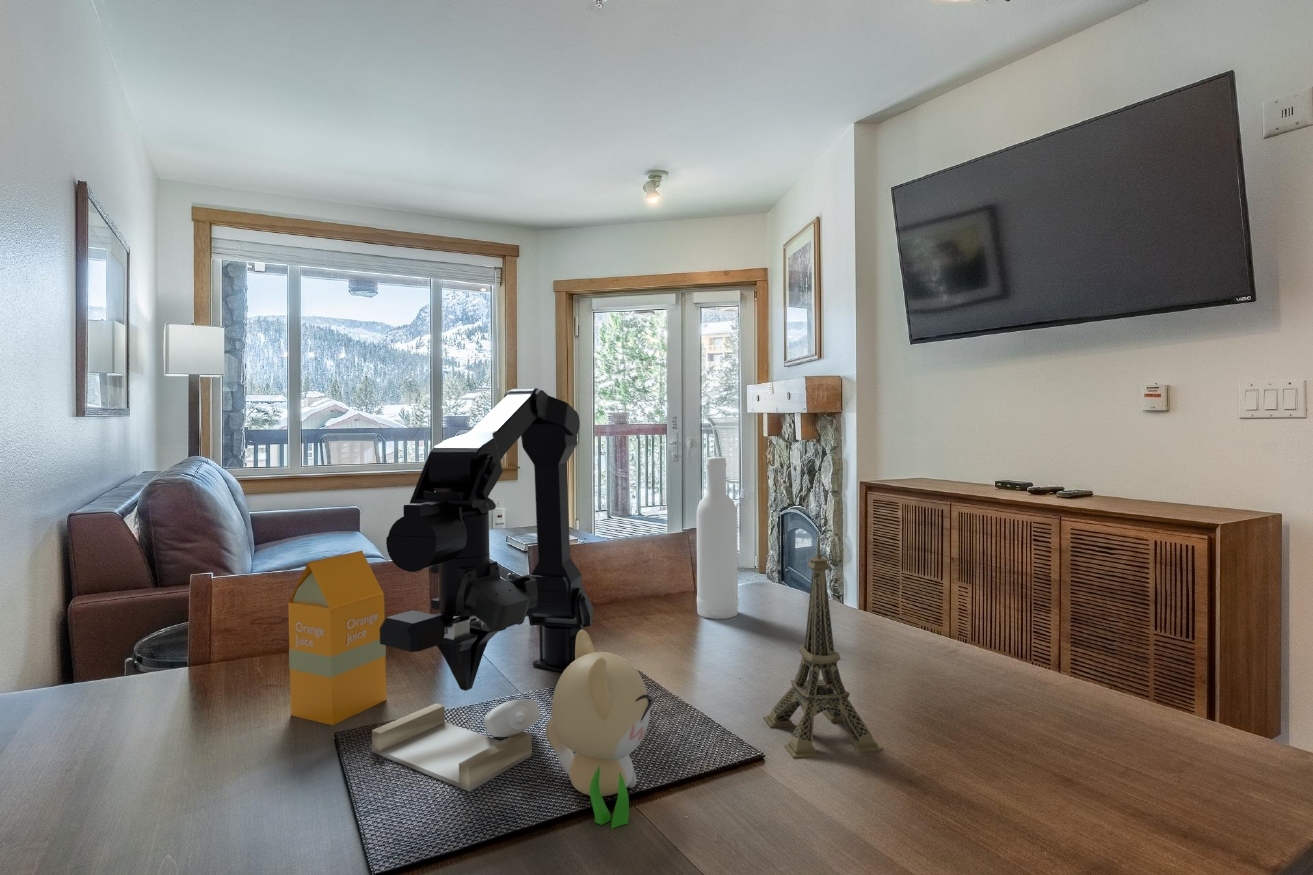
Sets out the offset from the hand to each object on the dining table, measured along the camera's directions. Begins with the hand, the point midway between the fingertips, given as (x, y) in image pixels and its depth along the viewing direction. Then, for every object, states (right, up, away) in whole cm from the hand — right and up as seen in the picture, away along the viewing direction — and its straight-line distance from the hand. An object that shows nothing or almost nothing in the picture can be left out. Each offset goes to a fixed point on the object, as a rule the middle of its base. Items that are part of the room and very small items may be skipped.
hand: (466, 689), depth 81 cm
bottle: (+34, -5, +54) cm, 64 cm away
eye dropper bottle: (+4, -5, +4) cm, 8 cm away
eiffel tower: (+41, -6, +3) cm, 42 cm away
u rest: (-1, -7, -2) cm, 7 cm away
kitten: (+16, -7, -10) cm, 20 cm away
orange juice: (-20, -7, +12) cm, 24 cm away
